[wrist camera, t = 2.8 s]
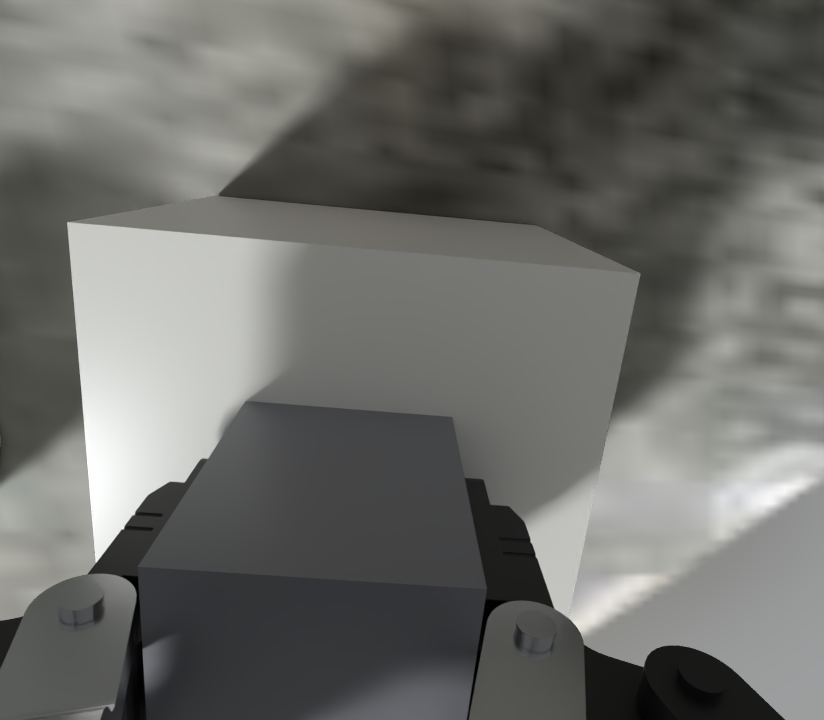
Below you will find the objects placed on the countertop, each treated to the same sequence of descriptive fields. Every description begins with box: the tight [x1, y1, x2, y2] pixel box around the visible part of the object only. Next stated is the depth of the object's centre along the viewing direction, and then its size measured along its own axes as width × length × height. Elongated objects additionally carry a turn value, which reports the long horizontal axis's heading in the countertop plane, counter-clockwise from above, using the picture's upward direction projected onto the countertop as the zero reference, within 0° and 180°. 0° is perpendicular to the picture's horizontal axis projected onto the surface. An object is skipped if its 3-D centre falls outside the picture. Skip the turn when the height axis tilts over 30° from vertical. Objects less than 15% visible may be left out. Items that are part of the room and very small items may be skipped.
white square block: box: [67, 196, 641, 720], centre depth 14 cm, size 10×10×14 cm
